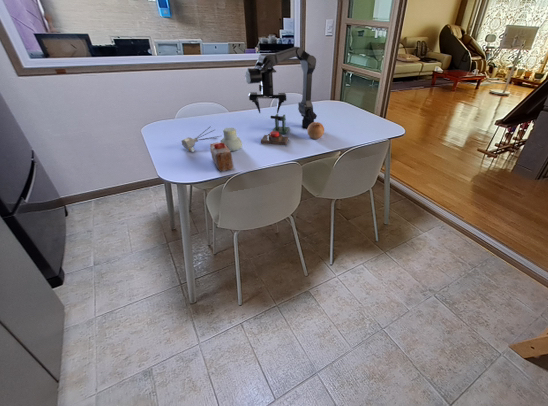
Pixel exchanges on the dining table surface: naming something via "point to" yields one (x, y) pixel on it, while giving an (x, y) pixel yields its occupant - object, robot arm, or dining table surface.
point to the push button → (274, 134)
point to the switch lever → (277, 117)
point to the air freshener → (231, 139)
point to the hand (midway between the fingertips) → (268, 113)
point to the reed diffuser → (193, 141)
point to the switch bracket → (282, 129)
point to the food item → (221, 156)
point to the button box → (274, 140)
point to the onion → (315, 130)
